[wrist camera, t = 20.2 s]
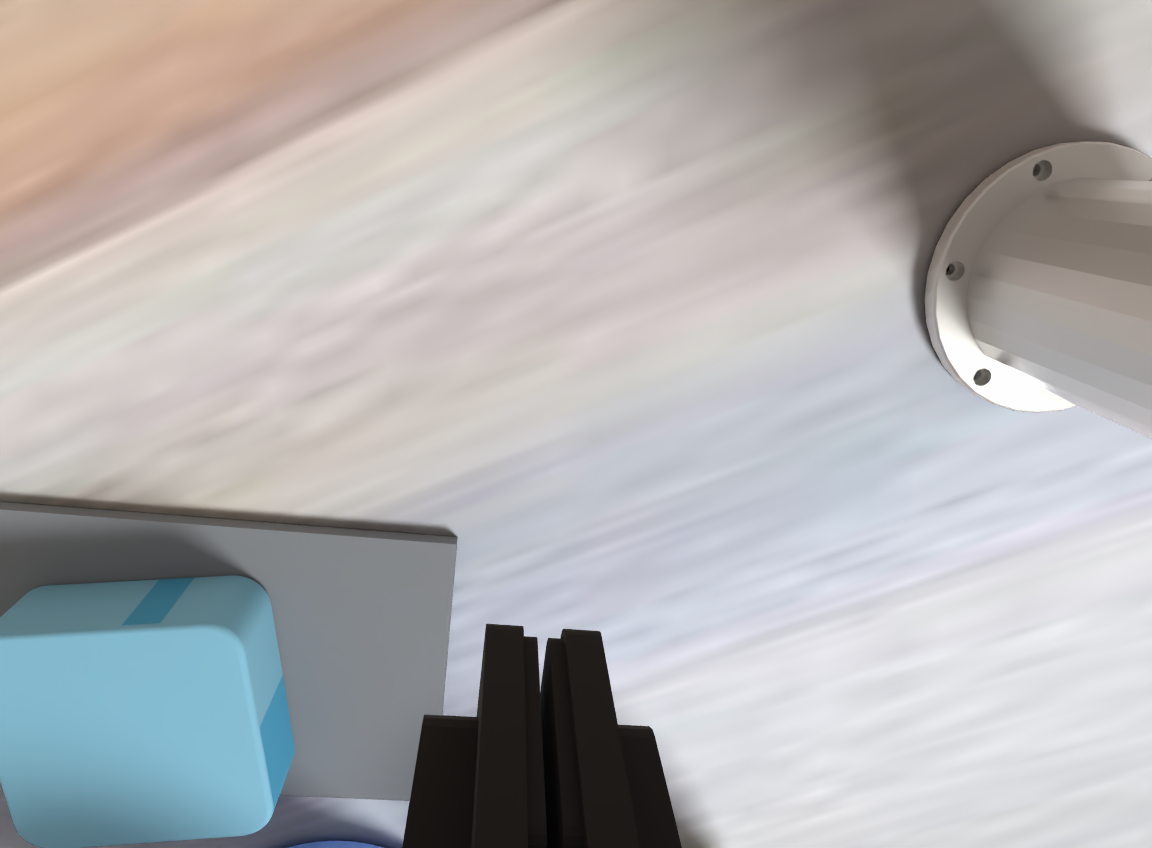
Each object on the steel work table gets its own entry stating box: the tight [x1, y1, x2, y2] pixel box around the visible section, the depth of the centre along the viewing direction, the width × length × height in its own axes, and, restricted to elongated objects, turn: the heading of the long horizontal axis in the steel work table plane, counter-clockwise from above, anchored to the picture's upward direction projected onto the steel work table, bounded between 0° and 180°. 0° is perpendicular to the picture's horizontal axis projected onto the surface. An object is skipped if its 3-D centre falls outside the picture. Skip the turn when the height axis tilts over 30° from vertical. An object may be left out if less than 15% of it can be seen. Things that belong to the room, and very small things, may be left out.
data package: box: [0, 575, 295, 848], centre depth 39 cm, size 12×4×12 cm
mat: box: [0, 502, 457, 801], centre depth 41 cm, size 22×16×1 cm
